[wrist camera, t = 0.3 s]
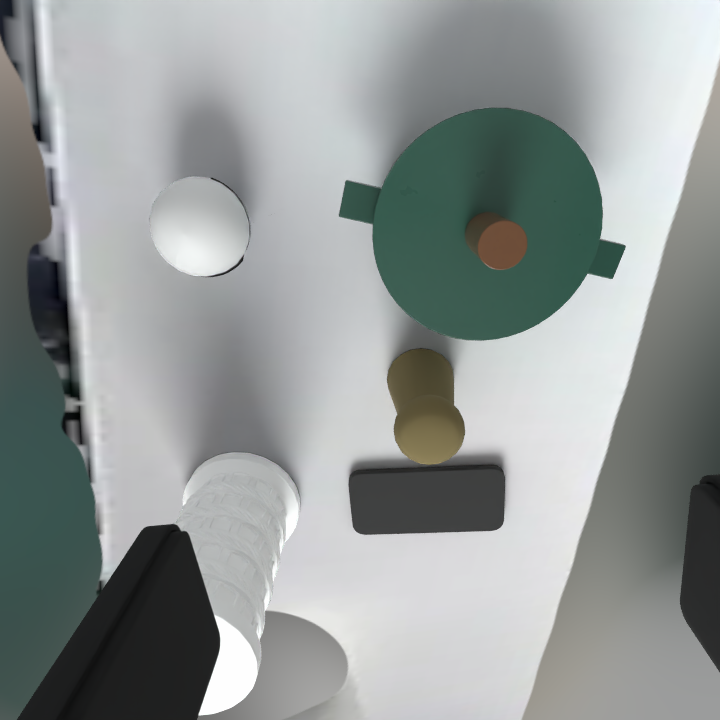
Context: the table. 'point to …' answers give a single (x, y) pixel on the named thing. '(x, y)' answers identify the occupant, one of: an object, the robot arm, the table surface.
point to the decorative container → (238, 558)
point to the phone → (427, 499)
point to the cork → (425, 407)
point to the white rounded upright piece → (200, 226)
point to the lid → (487, 224)
